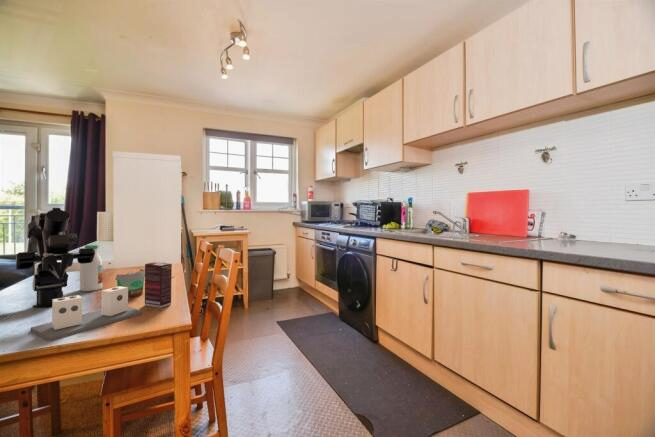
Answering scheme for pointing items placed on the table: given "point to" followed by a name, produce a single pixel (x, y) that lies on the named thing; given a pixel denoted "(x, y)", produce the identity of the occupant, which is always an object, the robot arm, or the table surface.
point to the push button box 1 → (114, 300)
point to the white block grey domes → (66, 312)
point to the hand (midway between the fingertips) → (61, 278)
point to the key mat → (83, 324)
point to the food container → (132, 283)
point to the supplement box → (158, 284)
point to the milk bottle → (91, 272)
